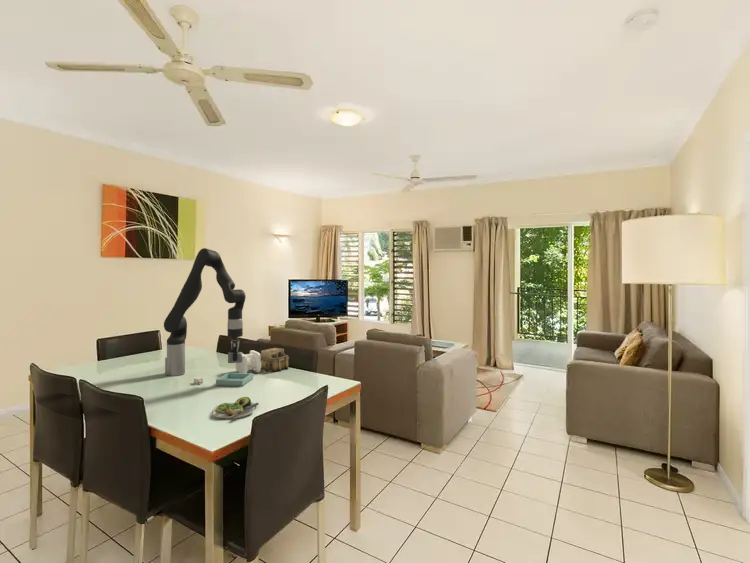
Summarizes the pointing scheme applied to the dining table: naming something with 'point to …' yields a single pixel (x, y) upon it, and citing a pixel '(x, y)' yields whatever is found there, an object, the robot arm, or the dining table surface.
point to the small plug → (198, 380)
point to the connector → (239, 357)
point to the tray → (234, 379)
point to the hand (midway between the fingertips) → (235, 359)
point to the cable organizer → (250, 362)
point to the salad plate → (235, 409)
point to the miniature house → (274, 360)
